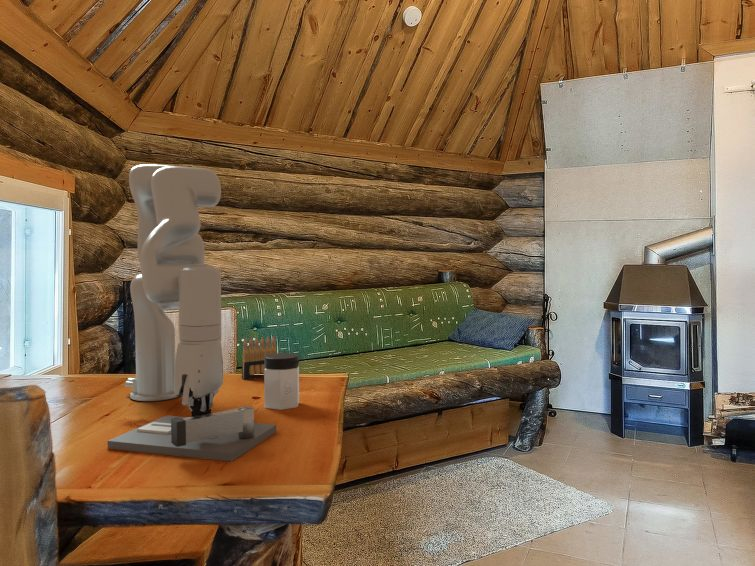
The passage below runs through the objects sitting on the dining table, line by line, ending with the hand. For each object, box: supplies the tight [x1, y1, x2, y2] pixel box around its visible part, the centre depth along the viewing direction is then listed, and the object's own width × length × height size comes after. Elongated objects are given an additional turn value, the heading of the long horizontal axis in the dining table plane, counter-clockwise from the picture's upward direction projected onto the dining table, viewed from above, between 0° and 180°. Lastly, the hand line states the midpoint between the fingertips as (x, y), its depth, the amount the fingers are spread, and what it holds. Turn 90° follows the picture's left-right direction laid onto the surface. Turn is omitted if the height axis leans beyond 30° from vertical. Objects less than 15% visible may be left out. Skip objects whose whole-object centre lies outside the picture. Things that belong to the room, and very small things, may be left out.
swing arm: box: [171, 406, 255, 447], centre depth 111 cm, size 15×3×5 cm, turn 128°
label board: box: [107, 415, 277, 462], centre depth 118 cm, size 26×18×2 cm
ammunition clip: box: [241, 335, 278, 381], centre depth 176 cm, size 11×2×12 cm, turn 123°
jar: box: [263, 352, 300, 411], centre depth 144 cm, size 9×8×12 cm
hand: (201, 430), depth 112 cm, fingers closed
